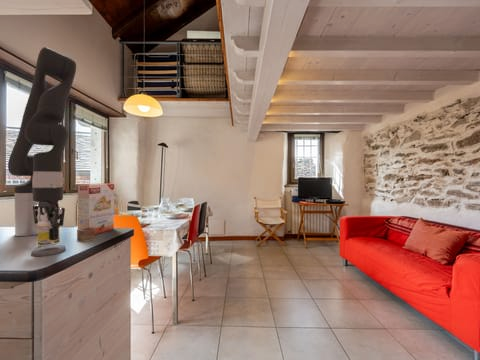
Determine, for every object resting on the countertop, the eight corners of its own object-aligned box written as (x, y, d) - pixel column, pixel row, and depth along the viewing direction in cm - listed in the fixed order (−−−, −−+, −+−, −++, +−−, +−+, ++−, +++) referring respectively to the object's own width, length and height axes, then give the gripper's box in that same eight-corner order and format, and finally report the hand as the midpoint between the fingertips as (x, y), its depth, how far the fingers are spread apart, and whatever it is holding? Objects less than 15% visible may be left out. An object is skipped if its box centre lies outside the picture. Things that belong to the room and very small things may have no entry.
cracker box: (89, 237, 93) (89, 184, 93) (76, 236, 95) (76, 184, 94) (115, 229, 107) (114, 183, 107) (103, 228, 108) (103, 183, 108)
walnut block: (77, 240, 89) (77, 230, 89) (87, 237, 92) (87, 227, 92) (83, 241, 87) (83, 231, 87) (94, 239, 91) (94, 228, 91)
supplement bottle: (56, 241, 79) (55, 212, 79) (62, 243, 76) (61, 213, 76) (35, 244, 75) (35, 214, 75) (41, 248, 72) (40, 216, 71)
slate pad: (25, 253, 73) (25, 250, 73) (56, 246, 81) (56, 243, 81) (40, 258, 70) (40, 254, 70) (71, 250, 77) (71, 246, 77)
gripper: (21, 185, 75) (22, 238, 75) (46, 187, 68) (47, 244, 69) (49, 184, 81) (49, 233, 82) (74, 186, 75) (74, 238, 76)
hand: (48, 238), depth 75 cm, fingers closed on supplement bottle, 5 cm apart
